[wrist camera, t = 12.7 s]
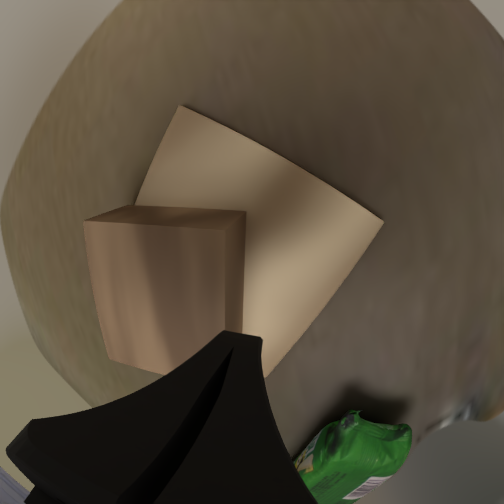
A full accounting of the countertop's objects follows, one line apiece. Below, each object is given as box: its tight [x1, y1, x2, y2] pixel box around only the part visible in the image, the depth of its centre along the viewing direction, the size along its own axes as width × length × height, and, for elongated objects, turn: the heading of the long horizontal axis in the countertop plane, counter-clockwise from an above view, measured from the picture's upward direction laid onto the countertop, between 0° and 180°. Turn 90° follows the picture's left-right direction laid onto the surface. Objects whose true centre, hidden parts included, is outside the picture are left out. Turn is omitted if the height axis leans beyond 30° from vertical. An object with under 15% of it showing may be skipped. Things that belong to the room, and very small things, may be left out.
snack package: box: [293, 410, 412, 504], centre depth 18 cm, size 7×16×5 cm, turn 164°
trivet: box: [135, 105, 384, 378], centre depth 16 cm, size 12×12×1 cm
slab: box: [83, 205, 246, 375], centre depth 15 cm, size 4×8×7 cm
